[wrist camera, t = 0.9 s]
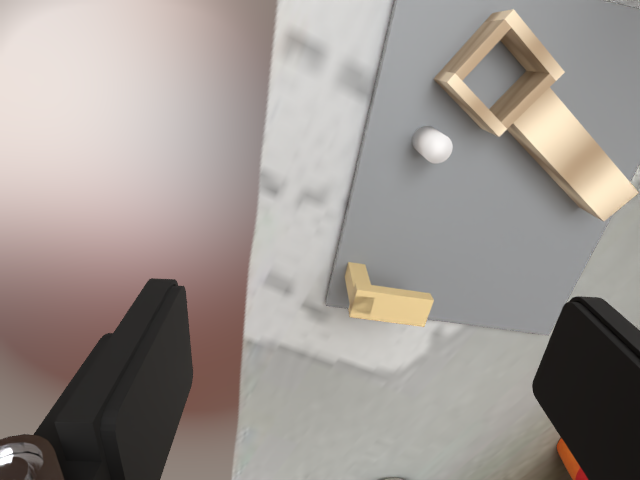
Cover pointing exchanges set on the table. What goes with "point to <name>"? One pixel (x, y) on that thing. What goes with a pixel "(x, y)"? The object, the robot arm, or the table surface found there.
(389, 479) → the can
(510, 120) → the wooden link
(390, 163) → the slate base
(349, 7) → the table surface
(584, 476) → the paper cup
